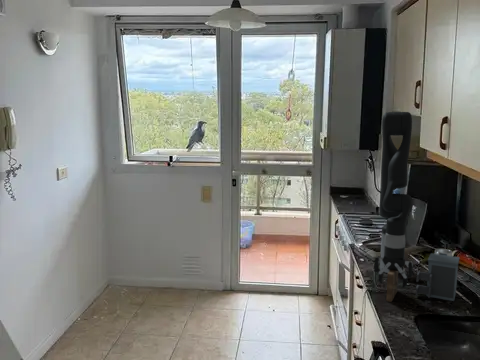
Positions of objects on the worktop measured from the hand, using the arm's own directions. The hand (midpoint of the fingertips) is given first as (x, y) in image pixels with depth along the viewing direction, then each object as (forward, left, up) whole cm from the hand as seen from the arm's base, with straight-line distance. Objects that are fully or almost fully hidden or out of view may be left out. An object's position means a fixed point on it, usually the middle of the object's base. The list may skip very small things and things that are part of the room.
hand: (392, 284), depth 190 cm
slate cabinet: (-8, +15, -5) cm, 18 cm away
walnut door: (0, 0, -5) cm, 5 cm away
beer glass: (-20, +16, -5) cm, 26 cm away
